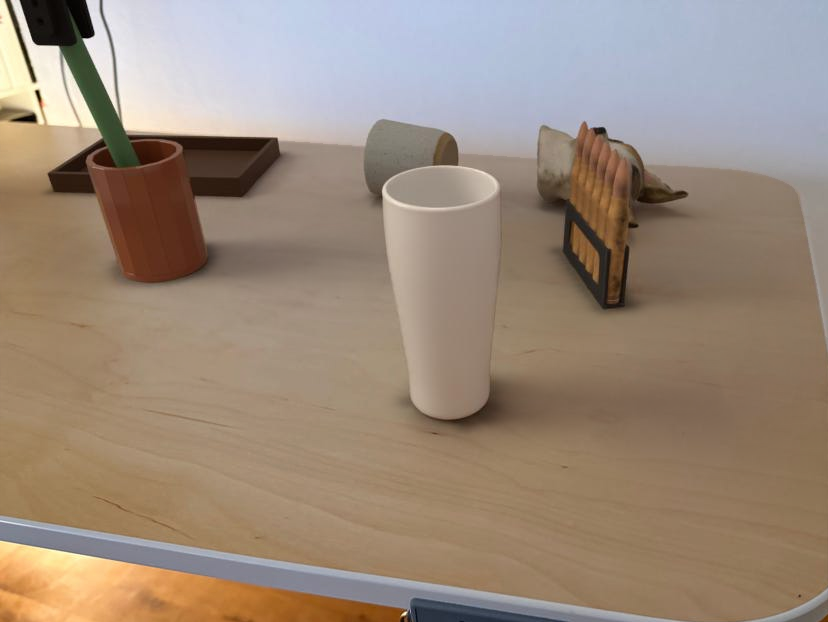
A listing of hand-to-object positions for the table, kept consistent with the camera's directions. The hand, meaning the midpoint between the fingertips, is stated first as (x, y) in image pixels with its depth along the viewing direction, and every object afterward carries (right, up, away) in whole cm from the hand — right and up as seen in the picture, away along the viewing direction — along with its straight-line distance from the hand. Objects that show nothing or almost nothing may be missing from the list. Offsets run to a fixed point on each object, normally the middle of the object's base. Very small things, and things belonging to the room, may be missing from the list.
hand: (64, 39), depth 57 cm
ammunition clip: (+41, -17, +7) cm, 45 cm away
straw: (+1, -9, +6) cm, 11 cm away
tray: (-4, -3, +29) cm, 30 cm away
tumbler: (+3, -16, +10) cm, 19 cm away
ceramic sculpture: (+43, -10, +19) cm, 48 cm away
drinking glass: (+30, -27, -7) cm, 41 cm away
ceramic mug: (+25, -6, +24) cm, 35 cm away
